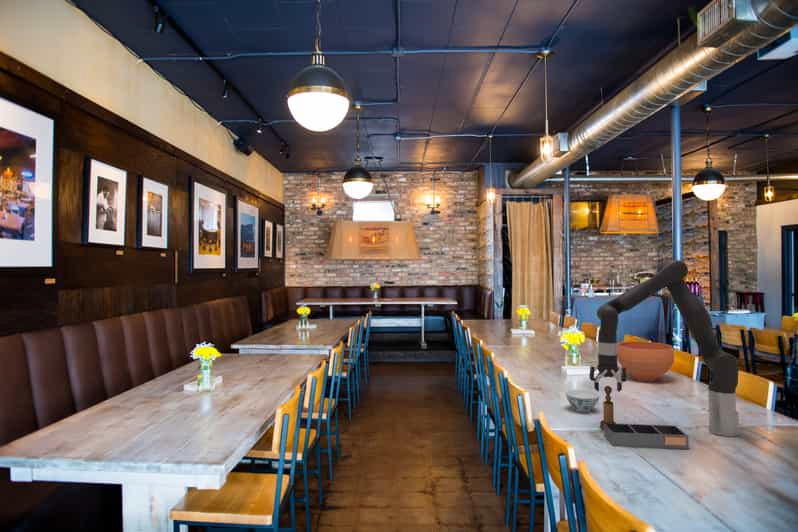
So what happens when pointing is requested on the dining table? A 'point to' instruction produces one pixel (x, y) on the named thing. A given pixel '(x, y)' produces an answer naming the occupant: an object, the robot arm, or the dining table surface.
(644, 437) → the rack
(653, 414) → the dining table surface
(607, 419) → the brown turned rounded post
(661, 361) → the bowl
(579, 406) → the chinaware
